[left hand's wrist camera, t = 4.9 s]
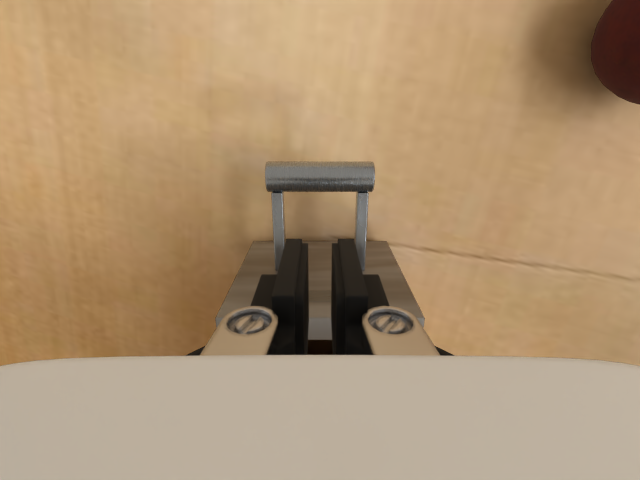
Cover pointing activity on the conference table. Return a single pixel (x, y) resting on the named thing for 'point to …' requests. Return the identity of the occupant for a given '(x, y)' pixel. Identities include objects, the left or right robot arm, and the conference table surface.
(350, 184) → the drawer
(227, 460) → the left robot arm
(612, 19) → the potato
